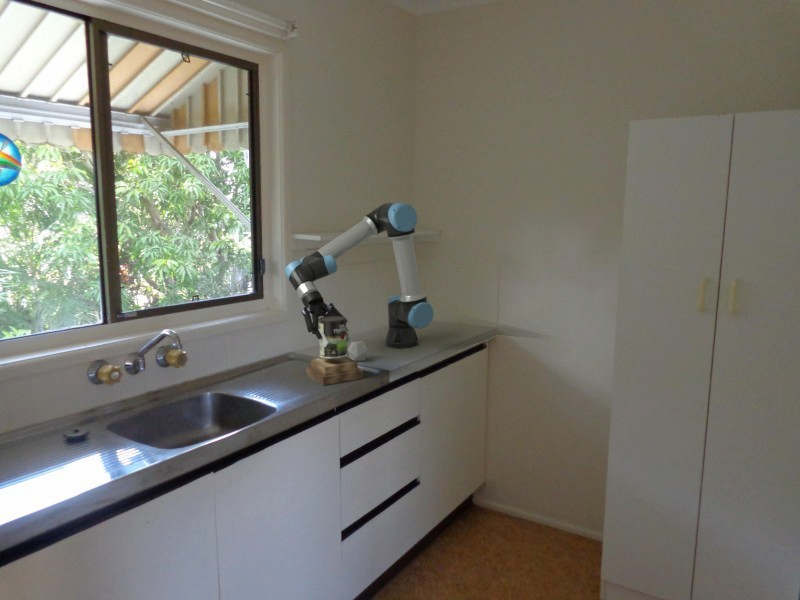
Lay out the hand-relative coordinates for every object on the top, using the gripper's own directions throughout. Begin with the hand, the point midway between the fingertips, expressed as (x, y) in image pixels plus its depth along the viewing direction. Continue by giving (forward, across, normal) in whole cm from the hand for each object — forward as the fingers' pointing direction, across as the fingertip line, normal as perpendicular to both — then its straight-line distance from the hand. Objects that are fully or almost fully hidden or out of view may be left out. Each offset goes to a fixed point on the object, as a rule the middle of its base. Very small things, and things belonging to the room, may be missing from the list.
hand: (338, 342), depth 215 cm
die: (0, -22, -19) cm, 29 cm away
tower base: (+8, 0, -12) cm, 14 cm away
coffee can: (+2, 0, -6) cm, 6 cm away
